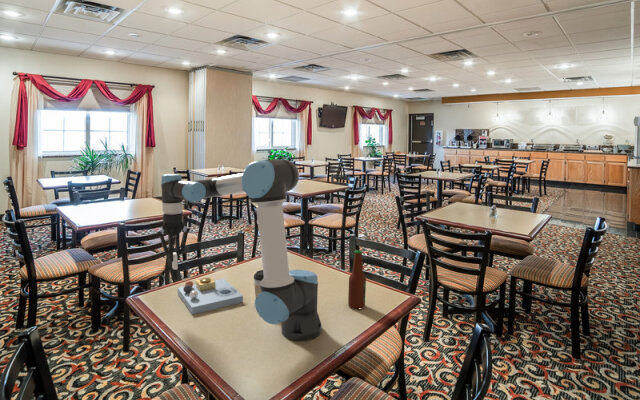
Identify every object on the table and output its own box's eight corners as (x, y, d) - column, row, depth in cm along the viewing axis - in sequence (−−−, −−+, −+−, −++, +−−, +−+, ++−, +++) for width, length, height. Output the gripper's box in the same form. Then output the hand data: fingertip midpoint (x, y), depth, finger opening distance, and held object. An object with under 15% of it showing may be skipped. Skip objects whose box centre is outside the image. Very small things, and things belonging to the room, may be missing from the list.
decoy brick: (194, 288, 170) (194, 281, 169) (186, 290, 168) (186, 282, 167) (192, 285, 173) (191, 278, 172) (184, 287, 171) (184, 280, 170)
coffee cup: (270, 310, 156) (270, 276, 154) (250, 307, 158) (250, 274, 156) (277, 301, 165) (277, 268, 163) (258, 299, 167) (258, 267, 164)
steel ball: (199, 299, 158) (198, 291, 158) (190, 301, 156) (190, 293, 156) (196, 296, 161) (196, 288, 161) (188, 298, 159) (188, 290, 159)
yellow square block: (215, 288, 170) (215, 280, 170) (200, 291, 166) (199, 283, 166) (210, 283, 176) (210, 276, 175) (195, 286, 172) (195, 278, 172)
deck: (243, 302, 163) (242, 295, 163) (192, 314, 151) (191, 307, 151) (224, 284, 183) (224, 278, 182) (177, 294, 171) (177, 287, 170)
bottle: (368, 308, 160) (370, 252, 156) (354, 311, 156) (356, 254, 152) (358, 301, 166) (360, 247, 162) (344, 305, 162) (346, 250, 158)
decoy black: (192, 293, 165) (192, 285, 164) (184, 294, 163) (184, 287, 162) (190, 290, 168) (190, 283, 167) (182, 292, 166) (182, 284, 165)
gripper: (186, 209, 156) (188, 263, 159) (153, 212, 148) (156, 268, 152) (191, 212, 150) (193, 268, 153) (157, 215, 142) (160, 274, 146)
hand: (175, 268), depth 153 cm, fingers closed
